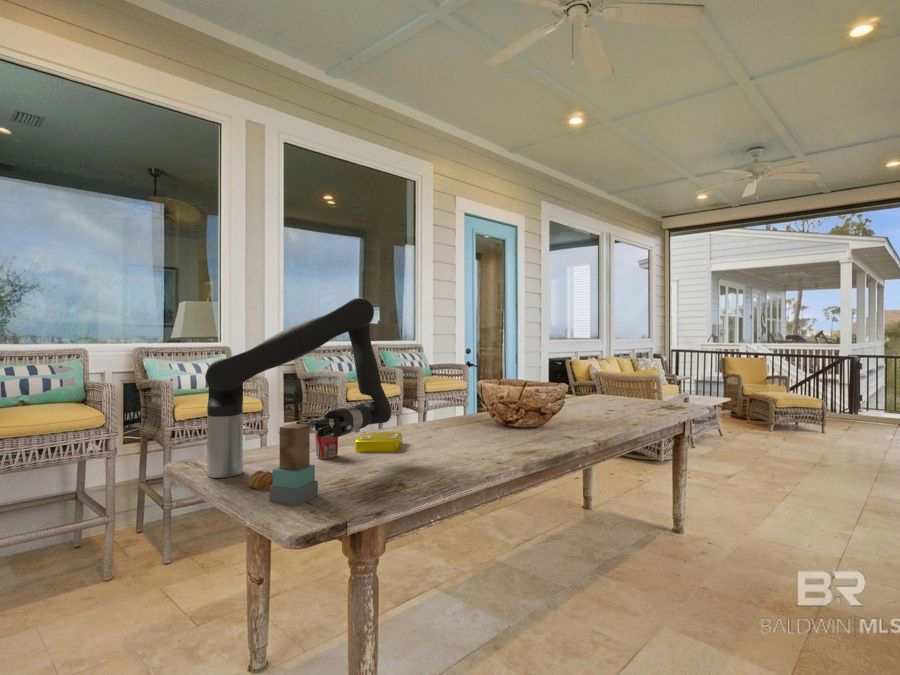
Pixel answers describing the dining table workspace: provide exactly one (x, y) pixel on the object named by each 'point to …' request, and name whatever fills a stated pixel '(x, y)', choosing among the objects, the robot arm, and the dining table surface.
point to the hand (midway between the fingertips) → (305, 431)
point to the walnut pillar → (294, 446)
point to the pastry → (261, 480)
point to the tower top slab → (293, 477)
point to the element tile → (378, 442)
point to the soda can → (326, 446)
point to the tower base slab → (293, 494)
